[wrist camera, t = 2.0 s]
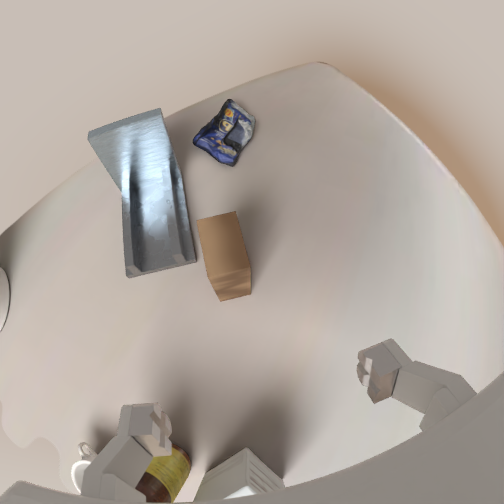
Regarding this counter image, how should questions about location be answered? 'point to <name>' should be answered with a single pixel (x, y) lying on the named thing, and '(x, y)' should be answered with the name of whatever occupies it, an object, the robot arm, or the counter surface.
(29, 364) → the counter surface
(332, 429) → the counter surface
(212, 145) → the snack package
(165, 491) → the sauce bottle
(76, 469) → the teacup
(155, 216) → the track
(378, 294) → the counter surface
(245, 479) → the supplement box
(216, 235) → the tan wooden block
